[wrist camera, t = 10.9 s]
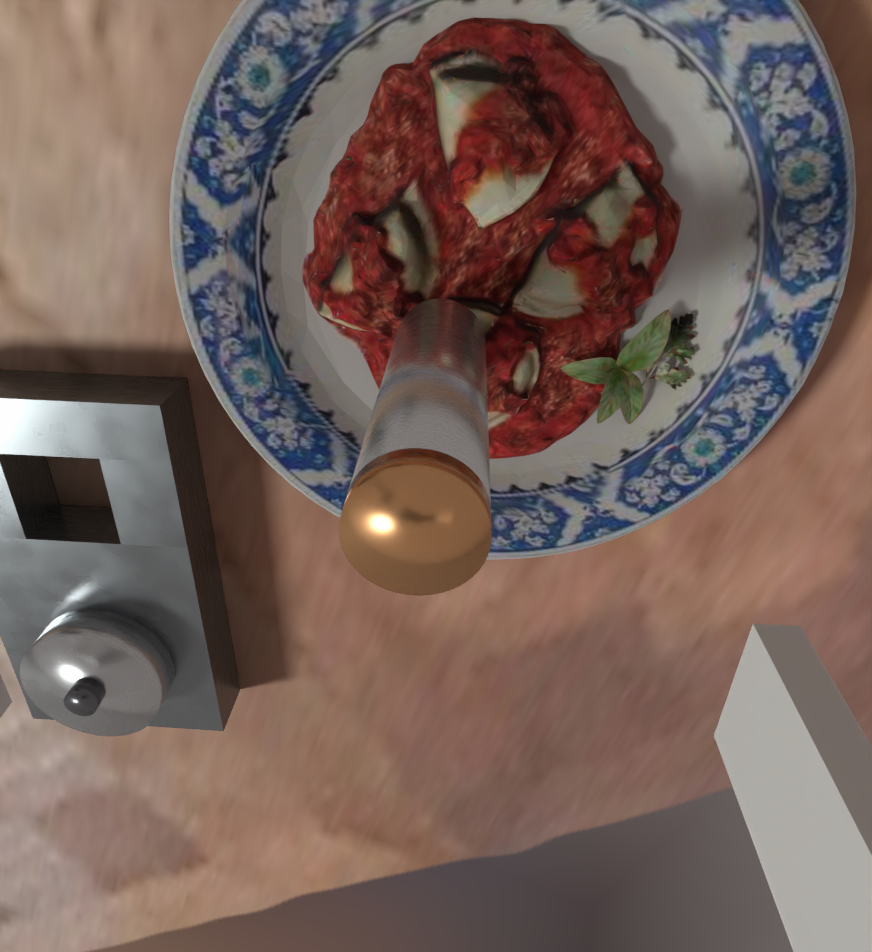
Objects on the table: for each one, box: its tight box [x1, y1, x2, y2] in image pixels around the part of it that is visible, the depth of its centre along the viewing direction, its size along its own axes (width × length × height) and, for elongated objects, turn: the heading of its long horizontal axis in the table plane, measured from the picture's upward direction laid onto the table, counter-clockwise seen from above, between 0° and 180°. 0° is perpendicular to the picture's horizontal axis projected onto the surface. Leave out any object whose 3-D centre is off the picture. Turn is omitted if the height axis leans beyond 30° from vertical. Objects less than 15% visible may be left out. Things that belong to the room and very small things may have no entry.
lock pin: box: [339, 299, 492, 595], centre depth 21 cm, size 4×4×13 cm
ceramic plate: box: [169, 0, 857, 560], centre depth 27 cm, size 26×26×3 cm
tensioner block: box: [0, 370, 240, 736], centre depth 34 cm, size 20×11×6 cm, turn 179°
